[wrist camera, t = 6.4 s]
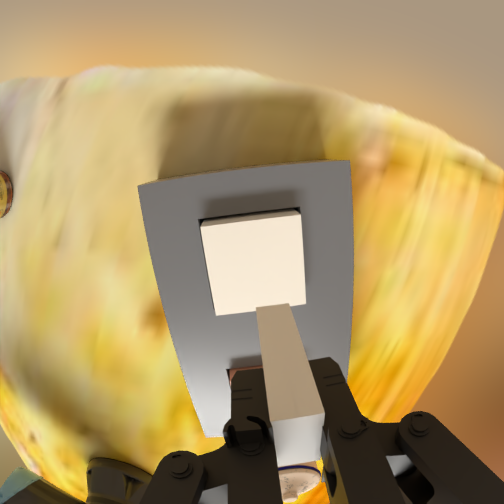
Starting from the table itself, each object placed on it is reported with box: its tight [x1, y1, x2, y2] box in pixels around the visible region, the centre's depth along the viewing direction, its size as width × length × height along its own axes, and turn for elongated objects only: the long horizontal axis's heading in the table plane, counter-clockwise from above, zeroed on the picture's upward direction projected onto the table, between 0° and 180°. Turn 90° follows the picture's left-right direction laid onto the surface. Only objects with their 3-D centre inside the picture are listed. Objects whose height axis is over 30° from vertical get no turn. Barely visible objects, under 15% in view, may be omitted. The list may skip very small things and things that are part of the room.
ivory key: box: [200, 207, 306, 316], centre depth 23 cm, size 7×7×4 cm
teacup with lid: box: [278, 461, 321, 502], centre depth 33 cm, size 12×9×12 cm
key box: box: [138, 159, 354, 437], centre depth 28 cm, size 16×28×6 cm, turn 6°
